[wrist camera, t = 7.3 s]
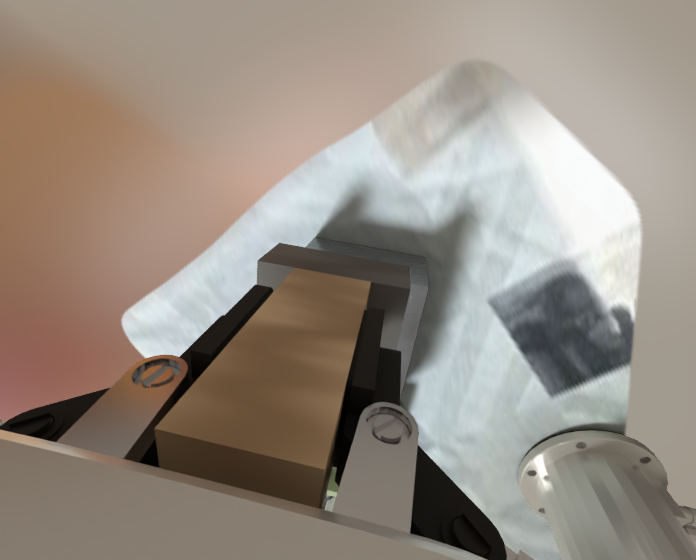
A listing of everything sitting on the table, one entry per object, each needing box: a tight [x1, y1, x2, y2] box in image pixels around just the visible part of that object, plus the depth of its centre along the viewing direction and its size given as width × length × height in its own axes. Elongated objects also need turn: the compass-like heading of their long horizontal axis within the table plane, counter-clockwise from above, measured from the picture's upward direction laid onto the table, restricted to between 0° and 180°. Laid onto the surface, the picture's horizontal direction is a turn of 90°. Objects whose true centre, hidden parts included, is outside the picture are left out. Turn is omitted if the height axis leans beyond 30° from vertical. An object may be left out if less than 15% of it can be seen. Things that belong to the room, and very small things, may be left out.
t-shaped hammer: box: [154, 243, 410, 510], centre depth 11 cm, size 6×3×10 cm, turn 82°
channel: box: [305, 237, 429, 398], centre depth 28 cm, size 9×14×6 cm
